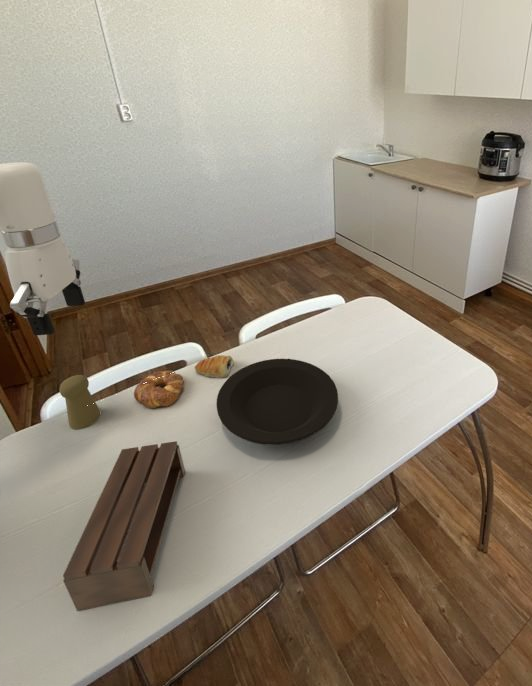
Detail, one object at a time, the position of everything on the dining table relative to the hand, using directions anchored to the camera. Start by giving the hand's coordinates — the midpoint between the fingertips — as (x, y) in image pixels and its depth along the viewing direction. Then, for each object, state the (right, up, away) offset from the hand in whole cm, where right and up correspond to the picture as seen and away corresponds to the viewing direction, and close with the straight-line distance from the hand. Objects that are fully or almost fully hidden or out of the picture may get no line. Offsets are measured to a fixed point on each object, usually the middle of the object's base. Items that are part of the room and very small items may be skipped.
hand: (61, 318), depth 73 cm
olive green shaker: (-6, -27, +15) cm, 31 cm away
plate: (+38, -26, +15) cm, 49 cm away
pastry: (+18, -21, +29) cm, 40 cm away
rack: (+19, -34, -8) cm, 40 cm away
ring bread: (+8, -24, +22) cm, 33 cm away
